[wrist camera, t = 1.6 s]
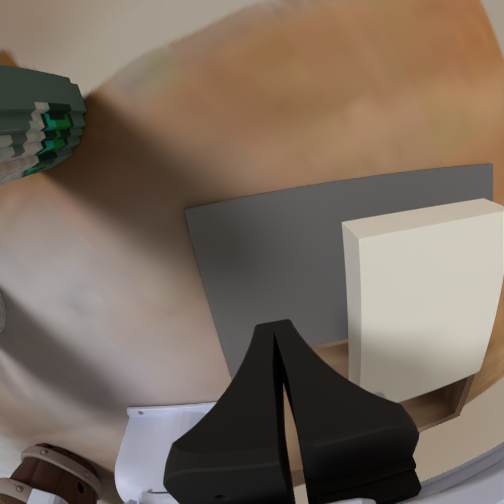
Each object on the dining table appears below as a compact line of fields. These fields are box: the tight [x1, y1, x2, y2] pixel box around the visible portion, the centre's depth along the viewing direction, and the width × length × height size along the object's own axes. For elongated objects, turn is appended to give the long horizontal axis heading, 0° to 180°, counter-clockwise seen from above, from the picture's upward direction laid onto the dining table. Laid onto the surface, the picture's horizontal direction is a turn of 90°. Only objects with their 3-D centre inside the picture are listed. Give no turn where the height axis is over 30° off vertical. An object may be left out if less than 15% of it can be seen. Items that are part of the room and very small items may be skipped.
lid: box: [342, 198, 504, 403], centre depth 15 cm, size 11×9×3 cm
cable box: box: [283, 339, 475, 471], centre depth 22 cm, size 16×10×5 cm, turn 100°
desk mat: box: [184, 164, 493, 380], centre depth 22 cm, size 22×22×1 cm
